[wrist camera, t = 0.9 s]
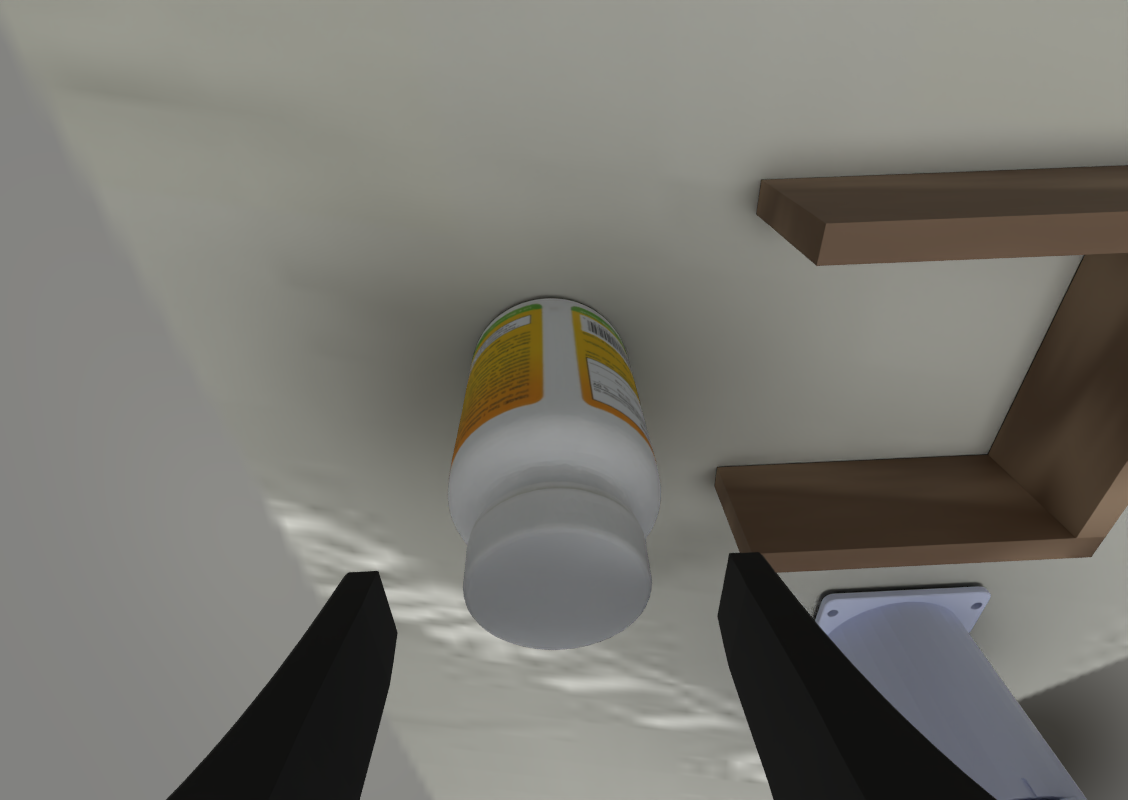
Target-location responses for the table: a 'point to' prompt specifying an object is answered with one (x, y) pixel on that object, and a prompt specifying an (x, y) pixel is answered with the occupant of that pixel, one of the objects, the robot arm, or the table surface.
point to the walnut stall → (1037, 416)
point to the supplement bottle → (553, 480)
